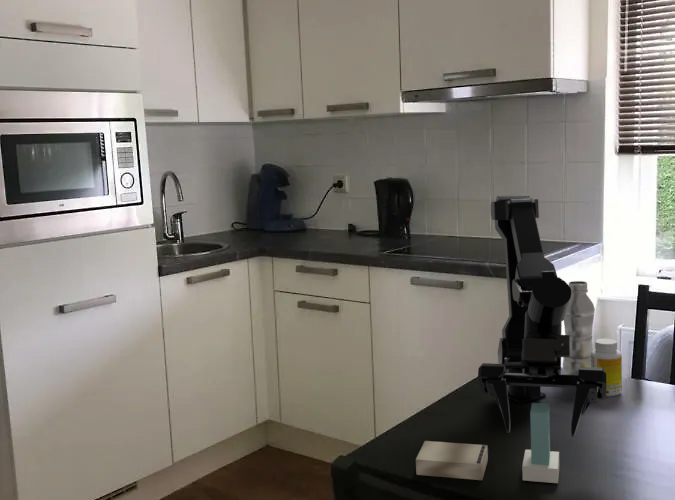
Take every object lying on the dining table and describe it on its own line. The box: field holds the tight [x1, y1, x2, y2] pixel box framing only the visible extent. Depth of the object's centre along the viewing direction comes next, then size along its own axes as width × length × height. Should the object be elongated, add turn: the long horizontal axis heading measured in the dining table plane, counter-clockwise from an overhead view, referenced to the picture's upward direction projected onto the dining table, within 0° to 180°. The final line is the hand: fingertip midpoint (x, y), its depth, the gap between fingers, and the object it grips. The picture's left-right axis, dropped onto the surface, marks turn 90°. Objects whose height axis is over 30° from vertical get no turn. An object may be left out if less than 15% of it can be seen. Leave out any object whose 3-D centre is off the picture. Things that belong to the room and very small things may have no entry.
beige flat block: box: [415, 440, 489, 481], centre depth 116 cm, size 10×7×3 cm
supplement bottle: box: [591, 338, 623, 397], centre depth 143 cm, size 6×6×10 cm
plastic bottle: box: [562, 280, 596, 375], centre depth 151 cm, size 6×7×20 cm
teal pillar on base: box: [521, 402, 560, 484], centre depth 111 cm, size 5×6×10 cm
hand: (540, 433), depth 110 cm, fingers open, 9 cm apart
